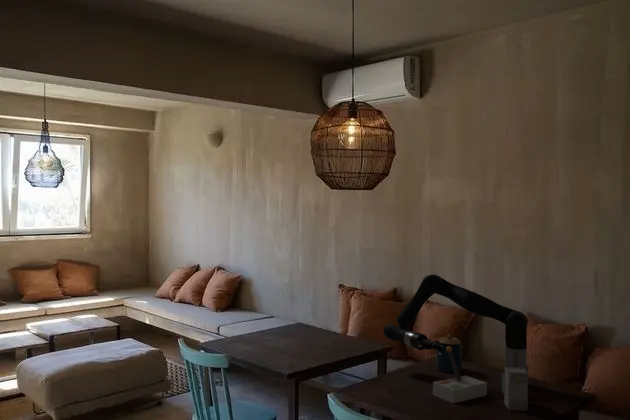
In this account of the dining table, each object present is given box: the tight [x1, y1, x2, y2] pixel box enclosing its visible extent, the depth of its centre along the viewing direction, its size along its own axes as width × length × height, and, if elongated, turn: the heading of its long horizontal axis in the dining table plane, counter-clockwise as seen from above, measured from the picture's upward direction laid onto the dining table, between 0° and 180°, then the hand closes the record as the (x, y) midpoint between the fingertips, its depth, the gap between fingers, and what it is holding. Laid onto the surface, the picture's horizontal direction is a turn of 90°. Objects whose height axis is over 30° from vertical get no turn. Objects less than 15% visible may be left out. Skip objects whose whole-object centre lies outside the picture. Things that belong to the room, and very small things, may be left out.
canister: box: [435, 333, 464, 374], centre depth 286 cm, size 13×13×18 cm
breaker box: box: [432, 375, 488, 404], centre depth 247 cm, size 20×12×6 cm, turn 121°
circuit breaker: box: [501, 366, 529, 411], centre depth 237 cm, size 8×14×15 cm, turn 174°
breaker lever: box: [446, 346, 462, 382], centre depth 250 cm, size 3×3×15 cm
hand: (441, 348), depth 256 cm, fingers closed
